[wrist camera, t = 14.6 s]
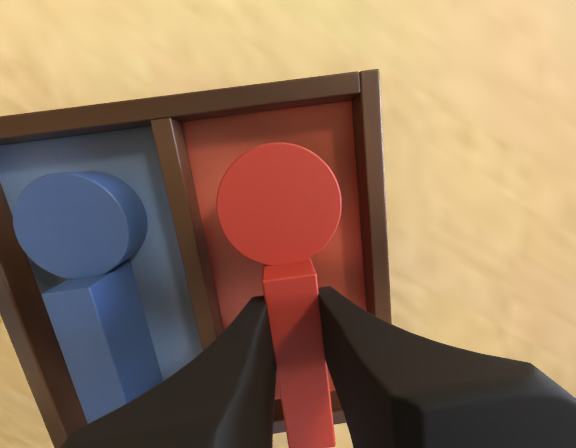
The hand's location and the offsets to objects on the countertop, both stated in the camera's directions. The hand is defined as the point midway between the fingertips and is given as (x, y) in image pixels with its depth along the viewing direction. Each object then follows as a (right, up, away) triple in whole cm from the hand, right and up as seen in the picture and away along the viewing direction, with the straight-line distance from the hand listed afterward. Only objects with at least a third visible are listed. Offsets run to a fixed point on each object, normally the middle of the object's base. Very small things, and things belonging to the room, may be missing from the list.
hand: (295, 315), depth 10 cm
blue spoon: (-9, +1, +3) cm, 9 cm away
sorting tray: (-4, +1, +4) cm, 6 cm away
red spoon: (0, +1, +2) cm, 2 cm away
